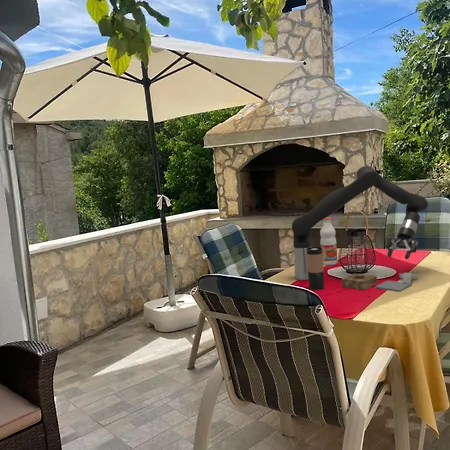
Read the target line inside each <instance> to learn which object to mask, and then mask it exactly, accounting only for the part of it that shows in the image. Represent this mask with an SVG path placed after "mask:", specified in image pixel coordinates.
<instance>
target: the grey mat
mask: <svg viewBox="0 0 450 450" xmlns="http://www.w3.org/2000/svg"><path fill="white" fill-rule="evenodd" d="M412 285H413V283H411V284H409V283H403V281H402V282H401V281H394V280H385V281H383V282H381V283H380V284H376V285H374V286H375V289H378V290H386V291H392V292H398V293H400V292H402V291H404V290H406V289H408V288H410V287H411V286H412Z"/></svg>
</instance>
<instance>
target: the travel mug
mask: <svg viewBox="0 0 450 450" xmlns="http://www.w3.org/2000/svg"><path fill="white" fill-rule="evenodd" d="M307 264H308V277H309V279H308V286H309V289H310V290H312V291H320V290H324V289H325V269H324V264H323V253H322V248H321V246H311V247H309V248H307Z"/></svg>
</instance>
